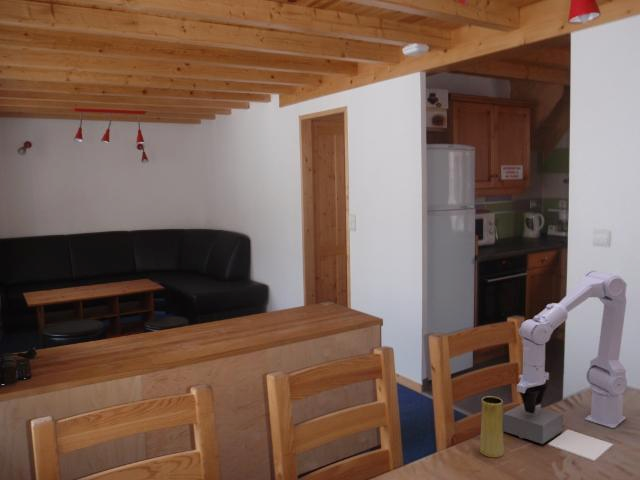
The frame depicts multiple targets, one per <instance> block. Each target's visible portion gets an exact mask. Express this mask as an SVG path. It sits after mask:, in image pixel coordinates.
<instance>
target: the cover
mask: <svg viewBox="0 0 640 480" xmlns="http://www.w3.org/2000/svg"><path fill="white" fill-rule="evenodd" d="M563 415H564V414H563V413H559V412H556V411H552V410H549V409H545V408H542V403H541V404H540V403H537V402H536V403H535V410H534V413H529V412H526V411H525V407H524V403H523V402H522V403H521V404H520V405H517V406H515V407H513V408H512V409H510V410H508V411H505V412H503V433H504V432H505V433H508V434H511V435H515V436H518V437H519V436H520V437H523V438H522V439H526V440H529V441H532V442H536V443H538V444H540V445H544V444H545V443H547V442H548V441H550V440H552V439H553V438H555V437H556V436H559V434H562V433H563ZM520 437H519V438H520Z"/></svg>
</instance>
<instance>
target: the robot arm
mask: <svg viewBox="0 0 640 480" xmlns="http://www.w3.org/2000/svg"><path fill="white" fill-rule="evenodd" d="M627 286H628V285H627V282H626V281H625V280H624V278H622V277H621V276H619V275H612V274H608V273H605V272H599V271H596V270H590V271H587V272H586V273H585V274H584V275H583V276H582V277H580V279H579V283H578V284H577V285H576V286H575V287H574V288H573V289H571V291H570V292H568V294H567V295H565V296H564V297H563V298H562V299H561V300H560V301H559V302H558V303H556V302H552V303H548V304H547V305H546V306H545V308H544V309H543V310H542V311H540V312H539V313H538V314H536V315H534V316H533V318H532V319H530V318H529V319H527V320H525V321H523V322H522V323H521V326H520V327H519V329H518V334H519V336H520V337H521V343H522V374H520V375H518V379H520V380H519V383H518V384H516V392H518V393H519V394H520V396H521V397H520V398H521V399H522V404H523V403H524V407H525V411H526V412H529V413H534V410H535V403H536V402H537V403H540V404H541V405H542V403H543V400H544V397H545V395H546V393H547V390H548V389H549V386H550V385H549V384H548V383H546V381H548V380H550V373H549V372H547V371H546V370H545V369H546V368H545V367H546V343H547V342H549V341H550V339H551V336H552V334H553V333H554V330H556V328H558V327H559V326H560V325H562V324H563V323H564V322H566V321H567V320H568V314H569V313H570V312H571V311H572V310H574V309H575V308H576V307H577V306H579V305H581V304H582V303H583V302H585V301H586V300H587V299H589V298H598V300H600V302H601V303H602V304H603V311H602V312H603V313H602V319H601V326H600V327H601V328H600V332H599V333H600V336H599V341H598V342H599V343H598V351H597V356H596V357H594V358H593V359H591V360H590V363H589V366H588V369H587V370H586V374H585V378H586V381H587V383H589V387H590V388H591V399H590V400H591V401H590V402H591V405H590V406H591V407H590V414H589V415H587V416H586V417H585V418H584V419H585V420H586V421H587V422H592V423H595V424H598V425H601V426H604V427H608V428H611V429H615V428H616V427H617V426H618V425H620V424H621V423H622V422H623V421H624V420H626V419H627V417H626V416H625V415H623V413H624V412H623V410H624V409H623V408H624V397H623V393H624V391H625V390H626V388H627V384H628V381H627V377H626V372H627V371H626V369H625V368H624V366H623V364H622V363H621V361H620V353H621V344H622V338H623V329H624V322H625V313H626V308H627V307H626V306H627V296H626V295H627V294H626V293H627V292H626V291H627Z"/></svg>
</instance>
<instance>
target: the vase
mask: <svg viewBox="0 0 640 480" xmlns="http://www.w3.org/2000/svg"><path fill="white" fill-rule="evenodd" d="M503 413H504V401H503V399H501V398H500V397H497V396H492V395H487V396H483V397H482V398H481V422H480V424H481V425H480V429H481V430H480V436H479V437H480V441H479V452H480V454H481V455H484V456H486V457H488V458H500V457H502V456H503V455H504V454H505V451H504V431H503Z"/></svg>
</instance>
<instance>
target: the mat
mask: <svg viewBox="0 0 640 480" xmlns="http://www.w3.org/2000/svg"><path fill="white" fill-rule="evenodd" d="M547 446H550V447H552V448H555V449H557V450H560V451H563V452H566V453H568V454H572V455H574V456H577V457H580V458H583V459H584V460H585V459H586V460H588V461H591V462H596V461H597V460H598V459H599V458H601V457H602V456H603V455H604V454H605V453H606V452H607V451H608V450H609V449H611V448H612V447H614V443H611V442H608V441H605V440H602V439H598V438H596V437H592V436H589V435H587V434H583V433H580V432H576V431H574V430H572V429H566V430H565V431H563V432H561V433H560V435H559V434H558V435H557V437H556V438H555V437H554V439H553V440H551V441H550V442H548V443H547Z"/></svg>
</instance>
